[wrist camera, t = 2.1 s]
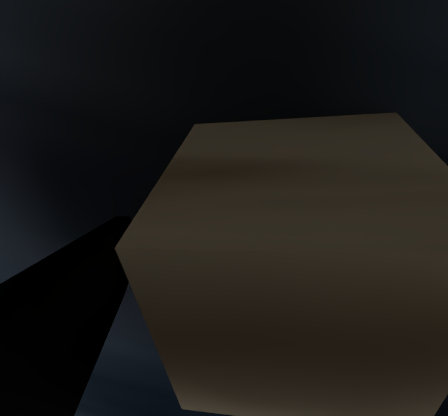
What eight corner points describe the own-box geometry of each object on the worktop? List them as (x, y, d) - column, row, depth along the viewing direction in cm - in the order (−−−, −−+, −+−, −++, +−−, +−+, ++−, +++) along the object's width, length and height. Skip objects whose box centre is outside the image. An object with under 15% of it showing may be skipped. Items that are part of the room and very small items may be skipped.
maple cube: (364, 261, 10) (419, 437, 6) (217, 257, 11) (181, 409, 7) (395, 111, 7) (535, 256, 3) (195, 122, 8) (114, 248, 4)
